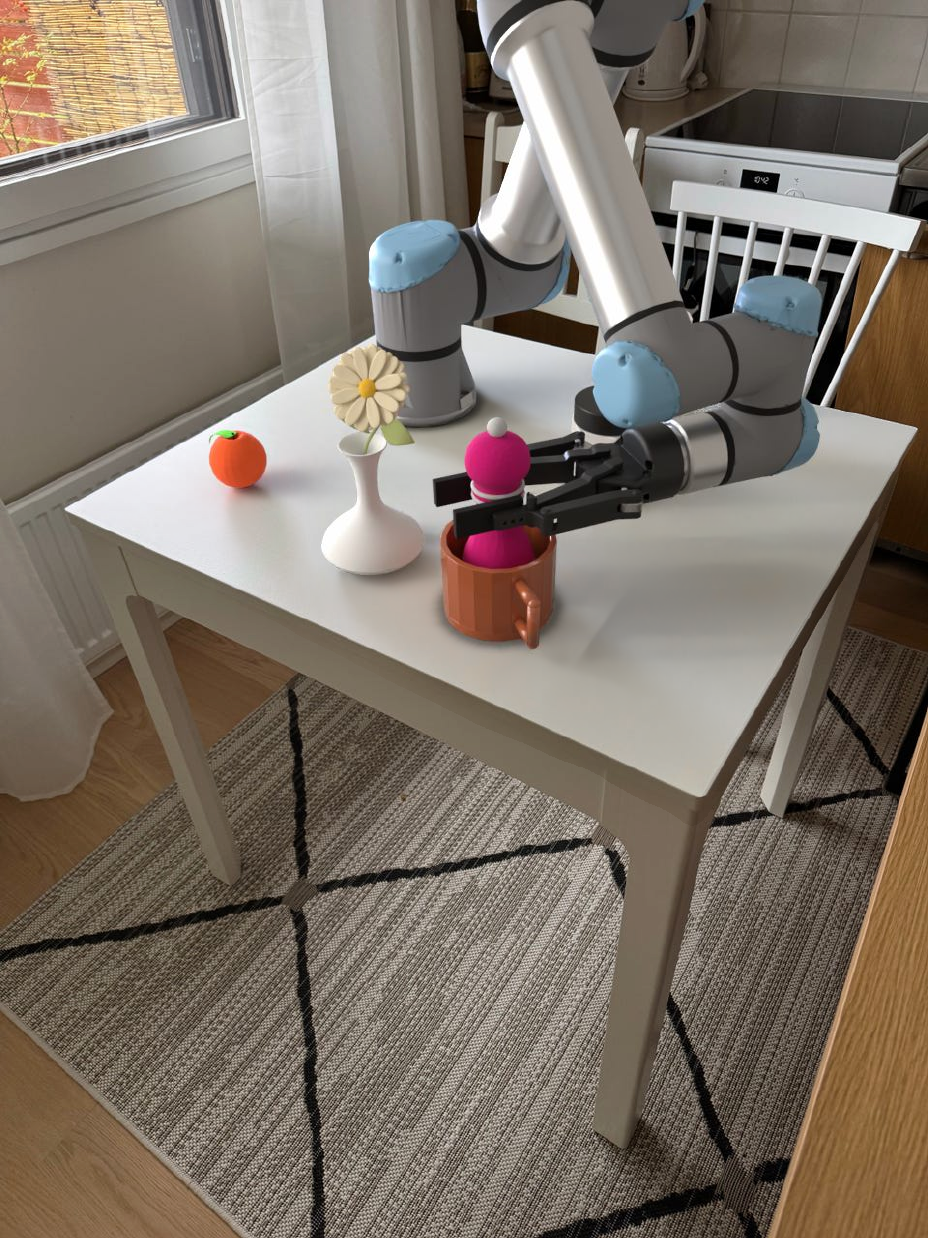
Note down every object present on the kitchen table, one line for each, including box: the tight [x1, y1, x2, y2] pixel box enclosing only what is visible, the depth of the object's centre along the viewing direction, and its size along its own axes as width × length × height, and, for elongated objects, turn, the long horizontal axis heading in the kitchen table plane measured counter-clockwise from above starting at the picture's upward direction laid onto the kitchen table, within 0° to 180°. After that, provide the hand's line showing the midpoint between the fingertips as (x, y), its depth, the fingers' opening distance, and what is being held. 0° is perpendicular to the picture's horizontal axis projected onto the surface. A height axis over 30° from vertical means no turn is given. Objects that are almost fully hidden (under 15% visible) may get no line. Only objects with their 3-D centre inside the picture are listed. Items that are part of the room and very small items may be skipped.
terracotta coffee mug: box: [439, 519, 558, 650], centre depth 89 cm, size 15×11×8 cm
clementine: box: [208, 429, 268, 489], centre depth 111 cm, size 8×7×7 cm
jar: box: [570, 384, 627, 476], centre depth 106 cm, size 9×8×12 cm
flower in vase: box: [321, 343, 426, 576], centre depth 92 cm, size 13×11×25 cm
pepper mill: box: [462, 416, 535, 569], centre depth 86 cm, size 7×7×20 cm
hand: (445, 508), depth 83 cm, fingers closed on pepper mill, 5 cm apart
